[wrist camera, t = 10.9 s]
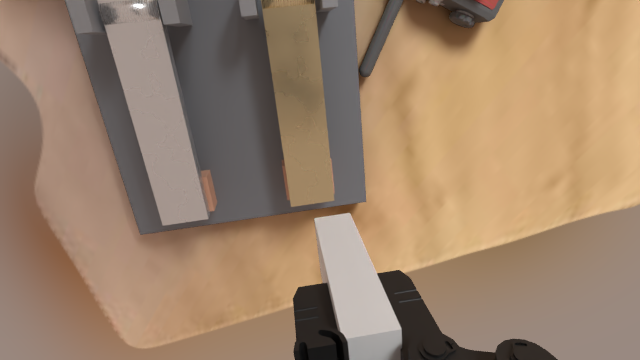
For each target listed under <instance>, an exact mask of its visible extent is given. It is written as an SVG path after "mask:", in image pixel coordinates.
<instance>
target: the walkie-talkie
mask: <svg viewBox="0 0 640 360" xmlns="http://www.w3.org/2000/svg"><path fill="white" fill-rule="evenodd" d="M416 1H417V2H419V3H425V1H426V0H416ZM503 1H504V0H429V3H430V4H431V5H434V6H438V5H441V6H443V7H445V8H447V9H449V10H450V11H452V12H451V13H450V15H449V19H450V20H451V22H453V23H455V24H457V25H459V26H462V27H465V28H471V27H473V26H474V24H475V23H477V22H488V21H490V20H492V19H494V18H495V16H496V14H497V13H498V11H499V9H500V7H501V5H502V3H503ZM402 2H403V0H389V2H388V4H387V6H386V9H385V11H384V13H383V16H382V18H381V20H380V23H379V25H378V27H377V30H376V32H375V34H374V37H373V39H372V41H371V44H370V46H369V48H368V51H367V53H366V55H365V58H364V60H363V62H362V65H361V67H360V69H359V73H360V75H361V76H363V77H368V76H370V74H371V72H372V70H373V68H374V66H375V63H376V61H377V59H378V57H379V54H380V52H381V50H382V47H383V45H384V43H385V41H386V38H387V36H388V34H389V32H390V29H391V27H392V25H393V23H394V20H395V18H396V16H397V14H398V11H399V9H400V7H401V4H402Z"/></svg>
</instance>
